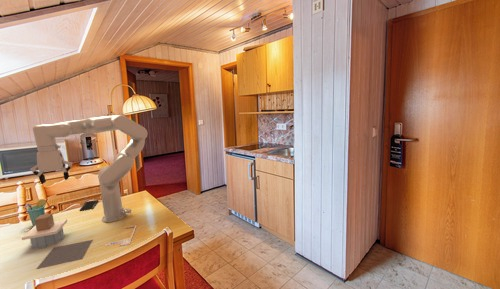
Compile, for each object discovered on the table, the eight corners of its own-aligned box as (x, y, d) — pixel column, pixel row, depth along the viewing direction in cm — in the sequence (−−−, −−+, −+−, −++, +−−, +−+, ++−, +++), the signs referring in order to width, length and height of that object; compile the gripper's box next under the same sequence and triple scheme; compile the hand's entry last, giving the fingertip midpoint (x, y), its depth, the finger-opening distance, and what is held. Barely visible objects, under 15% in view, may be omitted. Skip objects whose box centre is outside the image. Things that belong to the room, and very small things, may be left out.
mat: (93, 240, 114) (93, 239, 114) (82, 260, 99) (82, 259, 99) (53, 248, 108) (53, 247, 108) (36, 270, 93) (35, 269, 93)
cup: (36, 231, 125) (31, 205, 123) (20, 233, 124) (15, 207, 122) (54, 219, 139) (49, 195, 137) (39, 220, 138) (34, 197, 135)
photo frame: (94, 249, 105) (106, 230, 122) (94, 252, 105) (106, 232, 122) (129, 243, 109) (136, 225, 126) (129, 245, 109) (136, 227, 126)
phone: (98, 199, 165) (93, 207, 151) (98, 201, 165) (93, 209, 151) (85, 201, 162) (79, 210, 148) (86, 203, 162) (79, 211, 149)
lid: (67, 221, 121) (65, 208, 120) (56, 233, 109) (53, 219, 108) (36, 226, 117) (34, 213, 116) (22, 240, 105) (18, 225, 104)
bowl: (67, 233, 122) (65, 222, 121) (58, 245, 110) (55, 233, 109) (39, 238, 118) (37, 226, 116) (26, 252, 106) (23, 239, 105)
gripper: (70, 145, 123) (77, 176, 126) (29, 150, 116) (37, 182, 119) (65, 147, 116) (73, 179, 119) (21, 152, 109) (30, 186, 113)
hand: (55, 181), depth 119 cm, fingers open, 9 cm apart
